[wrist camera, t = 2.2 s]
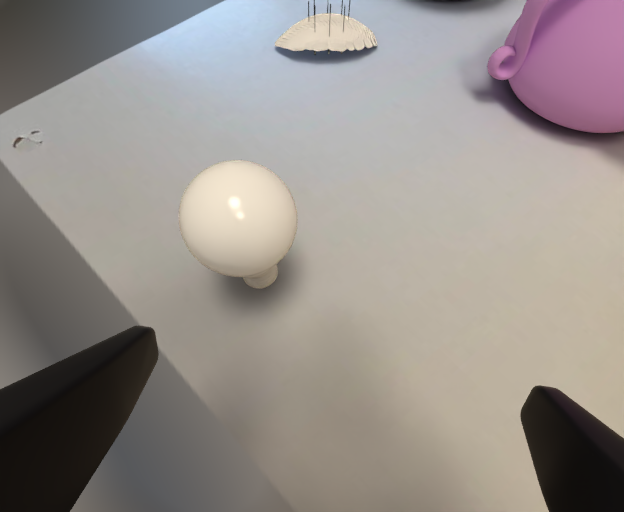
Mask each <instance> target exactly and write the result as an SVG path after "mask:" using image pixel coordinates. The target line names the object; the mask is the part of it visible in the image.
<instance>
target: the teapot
mask: <svg viewBox="0 0 624 512" xmlns="http://www.w3.org/2000/svg"><path fill="white" fill-rule="evenodd" d="M503 60H504V62H503V63H501V62H502V61H503ZM488 73H489V74H490V75H491V76H492V77H494V78H496V79H498V80H507V79H508V80H509V83H510V86H511V88H512V90H513V92H514V93H515V94H516V96H517V97H518V98H519V99H520V100H521V101H522V102H523V103H524V104H525V105H526V106H527V107H528V108H529V109H531V110H532V111H534V112H535V113H536V114H538V115H540V116H542V117H543V118H545V119H547V120H549V121H551V122H553V123H556V124H559V125H561V126H564V127H567V128H571V129H575V130H579V131H584V132H592V133H614V132H621V131H624V0H527V1H526V4H525V6H524V9H523V12H522V14H521V16H520V17H519V19H518V20H517V22H516V23H515V24H514V26H513V27H512V29H511V31H510V33H509V35H508V37H507V39H506V41H505V45H504V46H502V47H500V48H498V49H497V50H496V51H495V52H494V53H493V54H492V55H491V57H490V59H489V61H488Z"/></svg>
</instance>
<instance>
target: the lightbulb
mask: <svg viewBox="0 0 624 512" xmlns="http://www.w3.org/2000/svg"><path fill="white" fill-rule="evenodd" d="M297 221H298V219H297V209H296V205H295V202H294V199H293V196H292V194H291V192H290V191H289V189H288V187H287V186H286V184H285V183H284V182H283V181H282V180H281V179H280V178H279V177H278V176H277V175H276V174H275V173H274V172H272V171H271V170H269V169H268V168H266V167H264V166H262V165H260V164H257V163H254V162H250V161H244V160H229V161H223V162H220V163H217V164H214V165H212V166H210V167H208V168H206V169H204V170H203V171H202V172H200V173H199V174H198V175H197V176H196V177H195V178H194V179H193V180H192V181H191V182H190V184H189V185H188V186H187V188H186V190H185V192H184V194H183V196H182V199H181V202H180V207H179V227H180V231H181V235H182V238H183V240H184V242H185V244H186V246H187V248H188V249H189V251H190V252H191V254H192V255H193V256H194V257H195V258H196V259H197V260H198V261H199V262H200V263H201V264H203V265H204V266H206V267H207V268H209V269H211V270H212V271H215V272H217V273H220V274H223V275H227V276H233V277H243V279H244V281H245V283H246V284H247V285H249V286H250V287H253V288H257V289H261V288H265V287H268V286H269V285H271V284H272V283H273V282H274V281H275V279H276V278H277V275H278V268H277V263H278V262H279V261H281V259H282V258H283V257H284V256H285V255H286V254H287V252H288V251H289V249H290V247H291V245H292V243H293V241H294V238H295V235H296V231H297Z"/></svg>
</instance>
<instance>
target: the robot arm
mask: <svg viewBox="0 0 624 512" xmlns="http://www.w3.org/2000/svg"><path fill="white" fill-rule="evenodd" d="M157 360H158V347H157V341H156V335H155V331H154V330H153V328H151V327H144V326H134V327H132V328H129V329H127V330H125V331H123V332H121V333H119V334H117V335H115V336H113V337H110V338H108V339H106V340H104V341H102V342H100V343H98V344H96V345H93V346H91V347H89V348H87V349H85V350H83V351H81V352H79V353H76V354H74V355H72V356H70V357H68V358H66V359H64V360H62V361H59V362H57V363H55V364H53V365H51V366H49V367H47V368H45V369H43V370H40V371H38V372H36V373H34V374H32V375H30V376H28V377H26V378H24V379H21V380H19V381H17V382H15V383H13V384H11V385H9V386H7V387H4V388H2V389H0V512H70V510H71V509H72V507H73V506H74V504H75V503H76V501H77V499H78V498H79V496H80V495H81V493H82V491H83V490H84V488H85V487H86V485H87V484H88V482H89V480H90V479H91V477H92V476H93V474H94V473H95V471H96V469H97V468H98V466H99V465H100V463H101V461H102V459H103V458H104V456H105V455H106V454H107V452H108V450H109V449H110V447H111V446H112V444H113V442H114V441H115V439H116V438H117V436H118V434H119V433H120V431H121V430H122V428H123V426H124V425H125V423H126V421H127V420H128V418H129V416H130V414H131V412H132V410H133V408H134V406H135V404H136V402H137V400H138V398H139V396H140V394H141V392H142V390H143V388H144V387H145V385H146V383H147V380H148V378H149V377H150V375H151V373H152V371H153V369H154V367H155V365H156V363H157ZM521 422H522V426H523V429H524V432H525V436H526V439H527V443H528V446H529V450H530V453H531V457H532V460H533V464H534V467H535V471H536V474H537V478H538V481H539V484H540V487H541V491H542V494H543V496H544V499H545V502H546V505H547V507H548V510H549V512H624V439H623V438H622V437H621V436H619V435H618V434H617V433H616V432H614V431H613V430H612V429H610V428H609V427H608V426H606V425H605V424H604V423H602V422H601V421H600V420H598V419H597V418H596V417H594V416H593V415H592V414H590V413H589V412H588V411H586V410H585V409H584V408H582V407H581V406H580V405H578V404H577V403H576V402H574V401H573V400H572V399H570V398H569V397H568V396H566V395H565V394H564V393H563V392H561V391H560V390H558V389H556V388H553V387H546V386H535V387H534V388H533V389H532V390H531V392H530V394H529V396H528V398H527V400H526V402H525V403H524V405H523V407H522V409H521Z"/></svg>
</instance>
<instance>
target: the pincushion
mask: <svg viewBox="0 0 624 512" xmlns="http://www.w3.org/2000/svg"><path fill="white" fill-rule="evenodd" d="M342 5H343V0H342ZM349 10H350V2H349ZM308 16H309V1H308ZM375 43H376V44H375ZM372 44H373V45H372ZM376 45H377V41H376V38H375V36H374V34H373V33H372V31H371V30H370V29H369V28H367V27H365V26H364V25H363V24H361V23H360V22H358V21H356V20H354V19H353V18H350V17H349V15H348V16H345V9H344V15H342V11H341V14H334V13H333V14H332V13H331V4H330V13H328V7H327V13H325V14H318V15H315V0H314V16H310V17H308V18H306V19H303V20H301V21H299V22H298V23H296V24H295V25H293V26H292V27H291V28H290V29H288V30H287V31H286V32H285V33H284V34H282V36H280V37H279V39H278V40H277V41H276V42H275V46H278V47H282V48H284V49H286V48H287V49H289V50H292V51H303V50H304V49H307V50H314V55H316V51H321V50H322V51H324V50H327V49H328V54H329V52H330V50H331V51H341V54H342V52H343V51H345V50H346V49H349V50H350V51H351V50H354V49H357V50H361V49H363V48H364V47H365V46H366V47H367V48H370V47H372V46H376ZM377 46H378V45H377Z"/></svg>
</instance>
